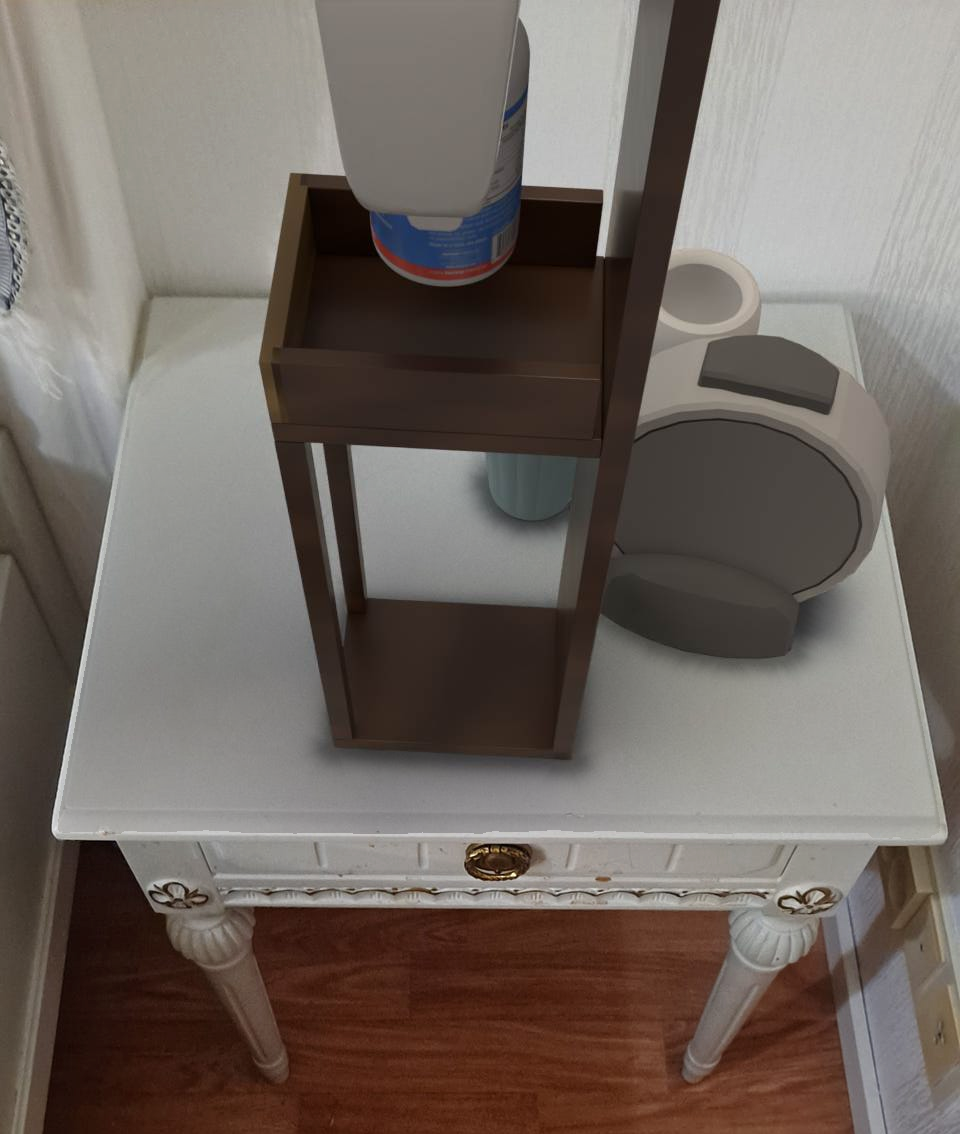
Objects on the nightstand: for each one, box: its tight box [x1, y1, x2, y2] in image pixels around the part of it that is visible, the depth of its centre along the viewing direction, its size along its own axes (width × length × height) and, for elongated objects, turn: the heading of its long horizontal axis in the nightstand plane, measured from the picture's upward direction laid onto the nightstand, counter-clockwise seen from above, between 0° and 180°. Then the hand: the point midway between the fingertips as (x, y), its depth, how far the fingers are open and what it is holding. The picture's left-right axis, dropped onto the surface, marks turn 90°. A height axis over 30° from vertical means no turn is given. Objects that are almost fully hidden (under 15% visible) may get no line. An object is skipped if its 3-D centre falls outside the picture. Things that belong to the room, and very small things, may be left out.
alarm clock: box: [600, 334, 892, 659], centre depth 65 cm, size 16×10×18 cm, turn 74°
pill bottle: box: [370, 17, 531, 286], centre depth 38 cm, size 6×5×10 cm
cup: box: [484, 452, 577, 521], centre depth 72 cm, size 8×8×10 cm
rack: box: [258, 0, 722, 761], centre depth 51 cm, size 14×10×42 cm
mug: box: [650, 247, 763, 358], centre depth 76 cm, size 12×8×8 cm
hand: (442, 146), depth 39 cm, fingers closed on pill bottle, 5 cm apart
